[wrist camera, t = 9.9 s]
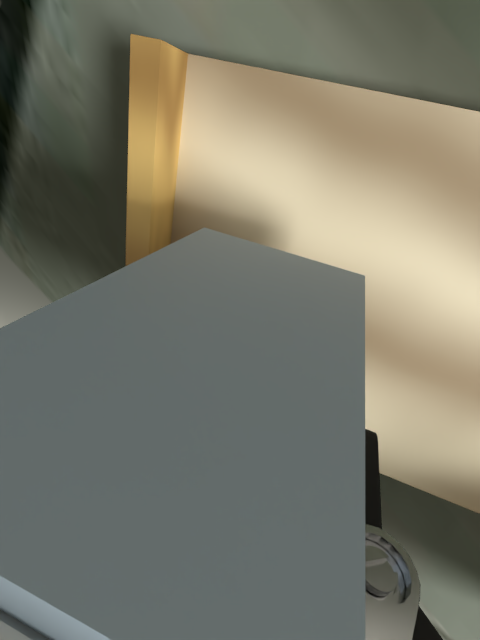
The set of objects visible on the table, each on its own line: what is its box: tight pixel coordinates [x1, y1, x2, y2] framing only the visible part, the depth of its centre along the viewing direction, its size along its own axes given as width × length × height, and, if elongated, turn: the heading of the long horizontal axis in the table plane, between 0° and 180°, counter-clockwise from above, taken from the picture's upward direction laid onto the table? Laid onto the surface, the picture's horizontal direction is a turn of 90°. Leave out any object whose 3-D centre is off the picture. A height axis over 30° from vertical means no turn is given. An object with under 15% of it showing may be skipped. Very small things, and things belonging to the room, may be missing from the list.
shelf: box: [126, 34, 480, 514], centre depth 13 cm, size 14×20×3 cm
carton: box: [0, 227, 365, 640], centre depth 8 cm, size 5×7×9 cm
